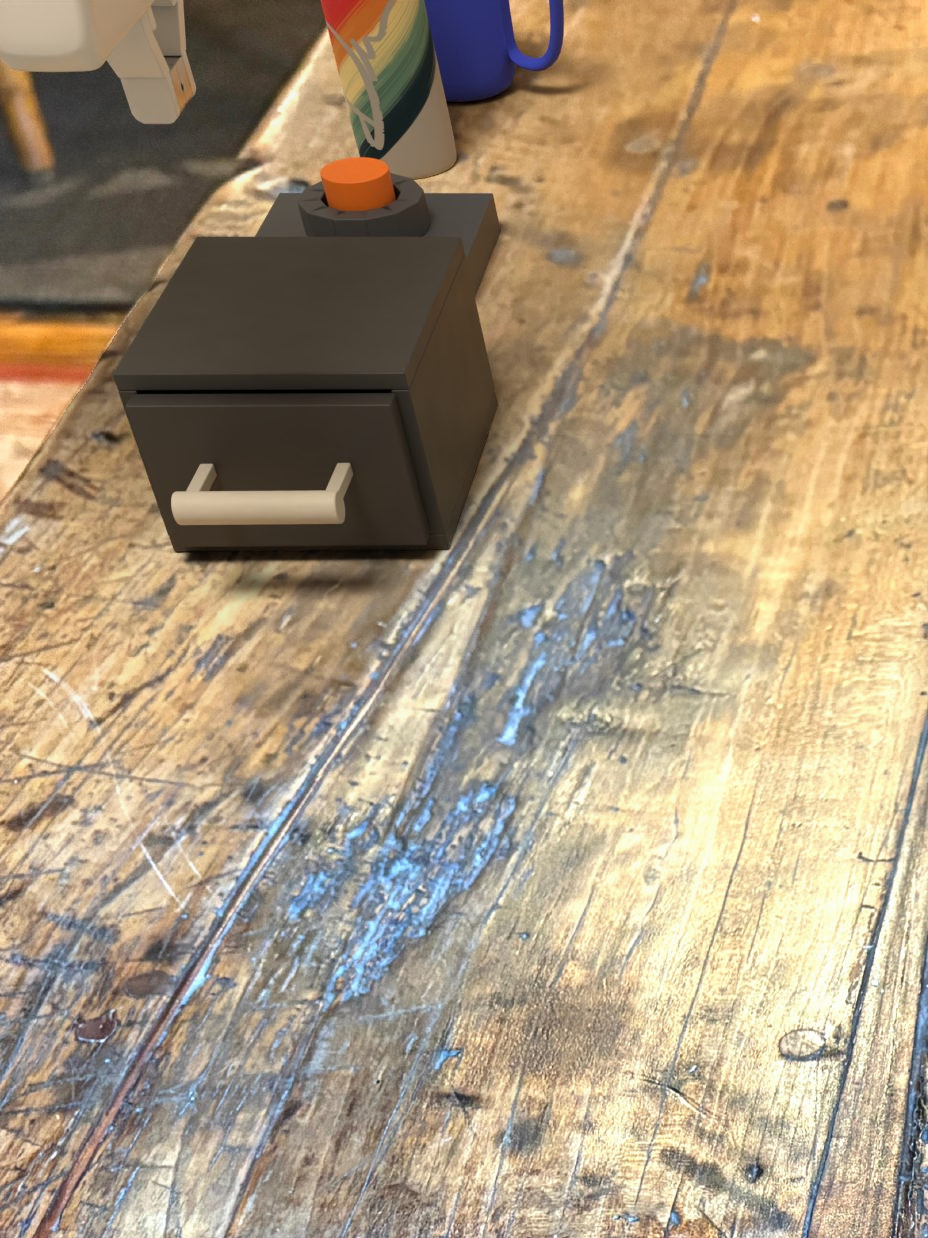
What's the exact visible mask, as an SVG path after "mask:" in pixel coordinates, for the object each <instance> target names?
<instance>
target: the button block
mask: <svg viewBox="0 0 928 1238" xmlns="http://www.w3.org/2000/svg"><path fill="white" fill-rule="evenodd" d="M390 175H391V179H392V184H393V188H394V192H395V196H396V201H394V202H392V203H390V204H388V205H386V206H384V207H380V208H375V209H370V210H366V211H342V210H338V209H334V208H330V207H329V206H328V202H327V198H326V194H325V191H324V187H323V183H322V180H319V181H318V182H316V183H314V184H312V185H310V186H308V187H306V188H304V189H303V191H302V192H279V193H278V195H277V197H276V198H275V200H274V202H273V204H272V205H271V207H270V209H269V211H268V213H267V214H266V216H265V217H264V219H263V221H262V223H261V225H260V226H259V228H258V230H257V231H256V233H255V235H254V237H461V238H462V242H463V247H464V251H465V252H464V253H465V256H466V260H467V265H468V269H469V274H470V278H471V283H472V287H473V292H474V296H475V297H476V295H477V293H478V290H479V288H480V285H481V282H482V280H483V277H484V275H485V272H486V270H487V267H488V265H489V262H490V260H489V259H491V257H492V254H493V252H494V249H495V247H496V244H497V242H498V239H499V237H500V234H501V231H502V230H501V226H500V220H499V216H498V211H497V207H496V206H497V205H496V202H495V196H494V194H493V193H492V192H489V193H488V192H460V193H459V192H425V191H424V188H422V186H421V185H420V184H419V183H417V182H416V181H415V179H412V178H408V177H404V176H400V175H396V174H392V173H390ZM492 251H493V252H492ZM491 253H492V254H491ZM490 256H491V257H490Z"/></svg>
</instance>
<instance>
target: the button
mask: <svg viewBox="0 0 928 1238" xmlns="http://www.w3.org/2000/svg"><path fill="white" fill-rule="evenodd" d="M319 175H320V178H321V181H322V183H323V187H324V191H325V194H326V198H327V202H328V206H329V207H330V208H334V209H338V210H342V211H366V210H370V209H375V208H380V207H384V206H386V205H388V204H390V203H392V202H394V201H396V196H395V192H394V188H393V184H392V179H391V175H390V171H389V167H388V165H387V164H386V163H385V162H383V161H381V160H378V159H374V158H366V157H360V156H357V157H355V156H354V157H346V158H341V159H337V160H334V161H332V162H329V163H327V164H325V165H324V166H323V167H322V168H321V169H320V171H319Z"/></svg>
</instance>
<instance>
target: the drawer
mask: <svg viewBox="0 0 928 1238" xmlns="http://www.w3.org/2000/svg"><path fill="white" fill-rule="evenodd" d="M391 390H392V389H379V390H161V393H162V394H133V395H132V396H131V398H130V400H129V402H128V403H127V405H126V409H127V412H128V415H129V418H130V421H131V423H132V426H133V429H134V432H135V435H136V438H137V441H138V444H139V446H140V449H141V452H142V455H143V458H144V461H145V464H146V467H147V469H148V472H149V475H150V478H151V481H152V484H153V487H154V490H155V492H156V495H157V498H158V501H159V504H160V507H161V510H162V513H163V515H164V518H165V521H166V524H167V527H168V530H169V533H170V536H171V538H172V541H173V544H174V546H175V547H236V546H354V545H426V544H427V541H428V538H429V536H430V533H431V531H430V527H429V523H428V519H427V515H426V512H425V508H424V504H423V500H422V496H421V492H420V488H419V484H418V480H417V476H416V472H415V468H414V464H413V460H412V457H411V453H410V449H409V445H408V441H407V437H406V433H405V429H404V425H403V421H402V417H401V413H400V409H399V406H398V402H397V398H396V394H395V393H392V392H391Z"/></svg>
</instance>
